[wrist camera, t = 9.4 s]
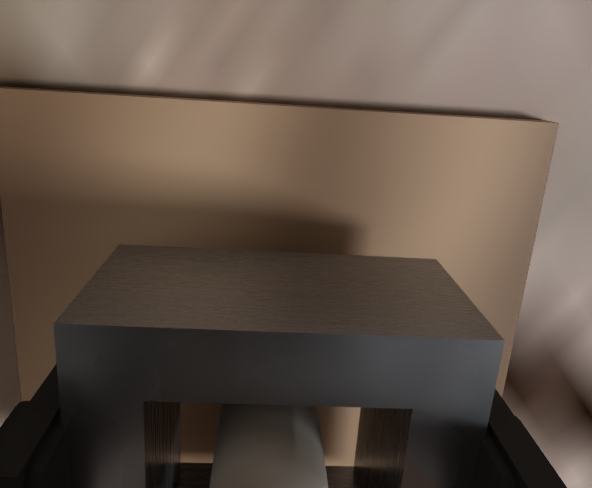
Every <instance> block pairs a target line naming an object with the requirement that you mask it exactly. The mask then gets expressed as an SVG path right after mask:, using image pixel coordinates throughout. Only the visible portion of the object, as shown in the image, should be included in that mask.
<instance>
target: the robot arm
mask: <svg viewBox="0 0 592 488" xmlns="http://www.w3.org/2000/svg"><path fill="white" fill-rule="evenodd" d="M0 488H71V482H70V469H69V456H68V443H67V430H66V428H62V426H61V414H60V401H59V389H58V376H57V364H56V365H55V366H54V368H53V369H52V370H51V372H50V373H49V375H48V376H47V377H46V379H45V380H44V382H43V383H42V384H41V386H40V387H39V389H38V390H37V391H36V393H35V394H34V396H33V397H32V399H31V400H30V401H22V402H20V403H19V404H18V405H17V406H16V407H15V408H14V409H13V411H12V412H11V414H10V415H9V416H8V418H7V419H6V420H5V422H4V423H3V424H2V426H1V427H0ZM471 488H567V487H566V486H565V484H564V483H563V481H562V480H561V478H560V477H559V476H558V474H557V473H556V471H555V470H554V468H553V467H552V465H551V464H550V463H549V461H548V460H547V458H546V457H545V455H544V454H543V453H542V451H541V450H540V448H539V447H538V445H537V444H536V442H535V441H534V440H533V438H532V437H531V435H530V434H529V432H528V431H527V430H526V428H525V427H524V425H523V424H522V422H521V421H520V420H519V419H518V418H517V417H516V416H514V415H513V413H512V412H511V410H510V409H509V407H508V406H507V404H506V403H505V401H504V400H503V399H502V397H501V396H500V394H499V393H498V391H497V390H496V388H495V392H494V397H493V402H492V406H491V411H490V416H489V421H488V426H487V431H486V436H485V439H480V444H479V449H478V454H477V459H476V464H475V469H474V474H473V479H472V484H471Z"/></svg>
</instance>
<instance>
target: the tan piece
mask: <svg viewBox="0 0 592 488" xmlns="http://www.w3.org/2000/svg"><path fill="white" fill-rule="evenodd" d="M558 125H559V123H555V122H551V121H546V120H530V119H514V118H498V117H482V116H466V115H451V114H435V113H419V112H403V111H387V110H371V109H355V108H339V107H323V106H308V105H292V104H276V103H260V102H244V101H228V100H212V99H196V98H180V97H164V96H149V95H133V94H117V93H101V92H85V91H69V90H53V89H37V88H21V87H5V86H0V200H1V210H2V219H3V229H4V239H5V248H6V258H7V268H8V277H9V287H10V296H11V306H12V316H13V325H14V335H15V345H16V354H17V364H18V374H19V383H20V393H21V402H22V401H30V400H31V399H32V397H33V396H34V394H35V393H36V391H37V390H38V389H39V387H40V386H41V384H42V383H43V382H44V380H45V379H46V377H47V376H48V375H49V373H50V372H51V370H52V369H53V368H54V366H55V365H56V351H55V339H54V326H53V323H54V322H55V321H56V320H57V319H58V317H59V316H60V315H61V314H62V313H63V311H64V310H65V309H66V308H67V307H68V305H69V304H70V303H71V302H72V301H73V299H74V298H75V297H76V296H77V295H78V293H79V292H80V291H81V290H82V289H83V287H84V286H85V285H86V284H87V282H88V281H89V280H90V279H91V278H92V276H93V275H94V274H95V273H96V272H97V270H98V269H99V268H100V267H101V266H102V264H103V263H104V262H105V261H106V260H107V258H108V257H109V256H110V255H111V254H112V252H113V251H114V250H115V249H116V248H117V246H118V245H119V244H125V245H146V246H168V247H189V248H211V249H232V250H254V251H276V252H297V253H319V254H340V255H362V256H383V257H405V258H426V259H437V261H438V262H439V263H440V264H441V265H442V266H443V268H444V269H445V270H446V271H447V272H448V274H449V275H450V276H451V277H452V278H453V280H454V281H455V282H456V283H457V284H458V285H459V287H460V288H461V289H462V290H463V291H464V293H465V294H466V295H467V296H468V297H469V299H470V300H471V301H472V302H473V303H474V305H475V306H476V307H477V308H478V309H479V310H480V312H481V313H482V314H483V315H484V316H485V318H486V319H487V320H488V321H489V322H490V324H491V325H492V326H493V327H494V328H495V329H496V331H497V332H498V333H499V334H500V335H501V337H502V338H503V339H504V340H505V342H504V347H503V352H502V357H501V362H500V367H499V372H498V377H497V382H496V387H495V388H496V390H497V391H498V393H499V394H500V396H501V397H502V395H503V390H504V385H505V380H506V375H507V371H508V366H509V361H510V356H511V351H512V346H513V342H514V337H515V332H516V327H517V322H518V318H519V313H520V308H521V303H522V298H523V293H524V289H525V284H526V279H527V274H528V269H529V265H530V260H531V255H532V250H533V245H534V240H535V236H536V231H537V226H538V221H539V216H540V212H541V207H542V202H543V197H544V192H545V187H546V183H547V178H548V173H549V168H550V163H551V158H552V154H553V149H554V144H555V139H556V134H557V130H558ZM360 409H361V407H329V406H295V405H261V404H227V403H192V402H181V462H186V463H213V465H212V472H211V479H210V486H209V488H328V481H327V474H326V466H354V461H355V452H356V444H357V435H358V427H359V418H360Z"/></svg>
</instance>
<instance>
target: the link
mask: <svg viewBox="0 0 592 488" xmlns="http://www.w3.org/2000/svg"><path fill="white" fill-rule="evenodd" d="M53 326H54V339H55V351H56V364H57V376H58V389H59V401H60V414H61V426H62V428H66V430H67V443H68V456H69V469H70V482H71V488H209V486H210V479H211V472H212V465H213V463H186V462H181V402H192V403H227V404H261V405H295V406H329V407H361V409H360V418H359V427H358V435H357V444H356V452H355V461H354V466H326V474H327V481H328V488H471V484H472V479H473V474H474V469H475V464H476V459H477V454H478V449H479V444H480V439H485V436H486V431H487V426H488V421H489V416H490V411H491V406H492V402H493V397H494V392H495V387H496V382H497V377H498V372H499V367H500V362H501V357H502V352H503V347H504V342H505V340H504V339H503V338H502V337H501V335H500V334H499V333H498V332H497V331H496V329H495V328H494V327H493V326H492V325H491V324H490V322H489V321H488V320H487V319H486V318H485V316H484V315H483V314H482V313H481V312H480V310H479V309H478V308H477V307H476V306H475V305H474V303H473V302H472V301H471V300H470V299H469V297H468V296H467V295H466V294H465V293H464V291H463V290H462V289H461V288H460V287H459V285H458V284H457V283H456V282H455V281H454V280H453V278H452V277H451V276H450V275H449V274H448V272H447V271H446V270H445V269H444V268H443V266H442V265H441V264H440V263H439V262H438V261H437V259H426V258H405V257H383V256H362V255H340V254H319V253H297V252H276V251H254V250H232V249H211V248H189V247H168V246H146V245H125V244H119V245H118V246H117V248H116V249H115V250H114V251H113V252H112V254H111V255H110V256H109V257H108V258H107V260H106V261H105V262H104V263H103V264H102V266H101V267H100V268H99V269H98V270H97V272H96V273H95V274H94V275H93V276H92V278H91V279H90V280H89V281H88V282H87V284H86V285H85V286H84V287H83V289H82V290H81V291H80V292H79V293H78V295H77V296H76V297H75V298H74V299H73V301H72V302H71V303H70V304H69V305H68V307H67V308H66V309H65V310H64V311H63V313H62V314H61V315H60V316H59V317H58V319H57V320H56V321H55V322H54V323H53Z"/></svg>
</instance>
